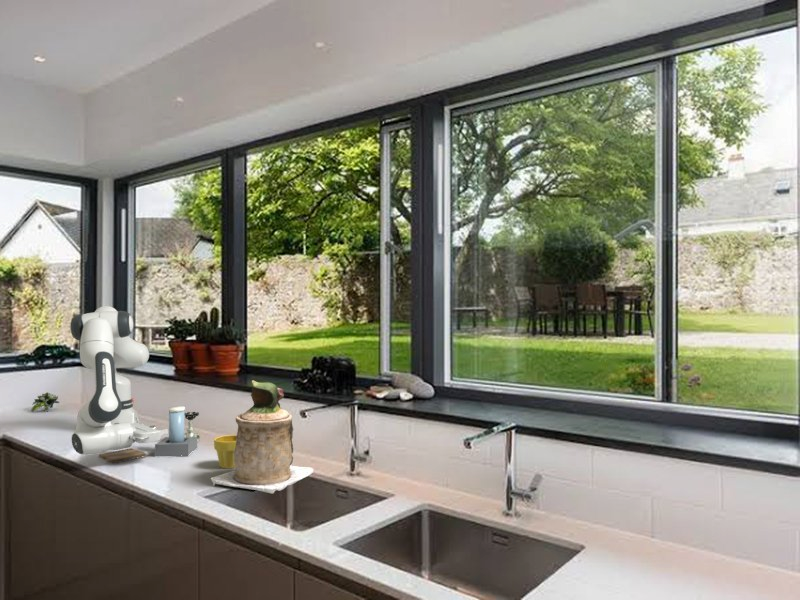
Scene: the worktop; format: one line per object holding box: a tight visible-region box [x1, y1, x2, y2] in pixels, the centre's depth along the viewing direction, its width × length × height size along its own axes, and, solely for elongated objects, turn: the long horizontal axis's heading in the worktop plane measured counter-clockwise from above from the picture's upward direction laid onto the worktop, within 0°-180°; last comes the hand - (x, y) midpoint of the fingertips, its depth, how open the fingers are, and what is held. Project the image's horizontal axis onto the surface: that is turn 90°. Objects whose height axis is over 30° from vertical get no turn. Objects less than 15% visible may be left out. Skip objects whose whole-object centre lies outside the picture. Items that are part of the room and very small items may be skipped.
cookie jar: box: [210, 380, 314, 495], centre depth 194 cm, size 25×25×32 cm
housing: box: [154, 436, 198, 457], centre depth 227 cm, size 12×12×4 cm
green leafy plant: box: [30, 391, 60, 413], centre depth 310 cm, size 11×11×12 cm
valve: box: [184, 411, 201, 444], centre depth 242 cm, size 7×7×12 cm
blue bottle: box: [168, 405, 186, 443], centre depth 227 cm, size 6×6×17 cm
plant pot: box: [213, 434, 237, 469], centre depth 209 cm, size 10×10×10 cm
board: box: [98, 447, 147, 464], centre depth 221 cm, size 12×12×1 cm
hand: (160, 429), depth 223 cm, fingers open, 8 cm apart
